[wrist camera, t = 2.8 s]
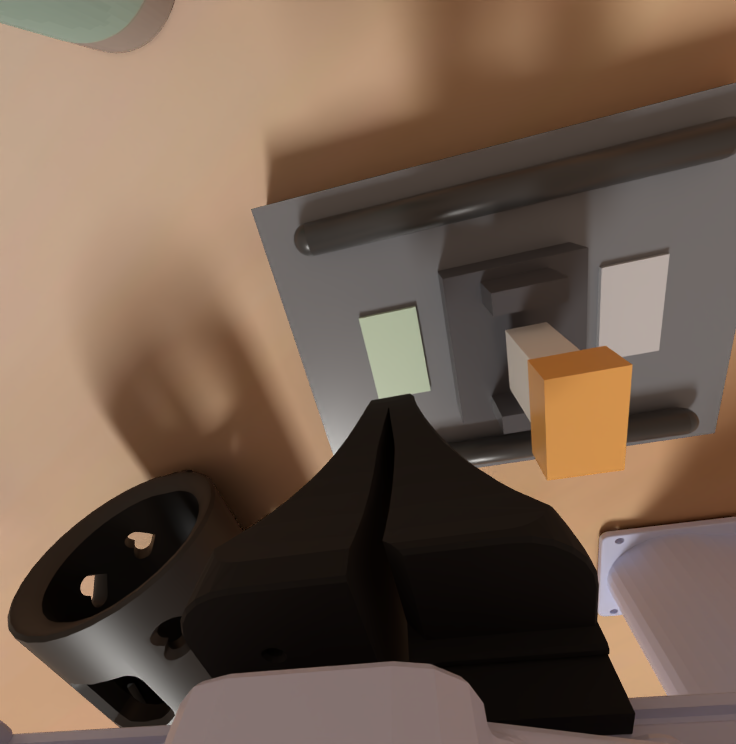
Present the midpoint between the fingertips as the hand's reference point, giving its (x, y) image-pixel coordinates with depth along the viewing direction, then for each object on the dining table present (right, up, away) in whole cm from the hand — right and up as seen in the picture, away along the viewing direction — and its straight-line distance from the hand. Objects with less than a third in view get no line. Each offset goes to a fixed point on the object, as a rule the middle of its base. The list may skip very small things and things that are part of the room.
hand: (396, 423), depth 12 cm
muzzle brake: (-8, -16, +17) cm, 24 cm away
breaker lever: (+5, +2, +2) cm, 6 cm away
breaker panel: (+5, +4, +6) cm, 9 cm away
